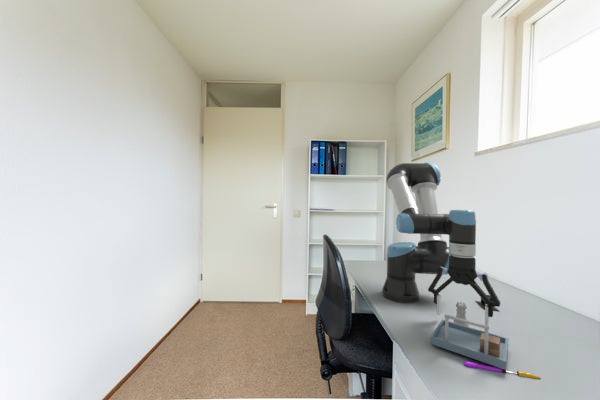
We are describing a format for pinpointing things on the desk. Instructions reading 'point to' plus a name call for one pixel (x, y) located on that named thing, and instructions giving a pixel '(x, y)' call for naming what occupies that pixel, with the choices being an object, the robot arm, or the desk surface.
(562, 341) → the desk surface
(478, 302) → the black piece
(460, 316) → the rook chess piece
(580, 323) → the desk surface
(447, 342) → the tray
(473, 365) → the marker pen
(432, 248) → the robot arm
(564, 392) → the desk surface
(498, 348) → the walnut block
